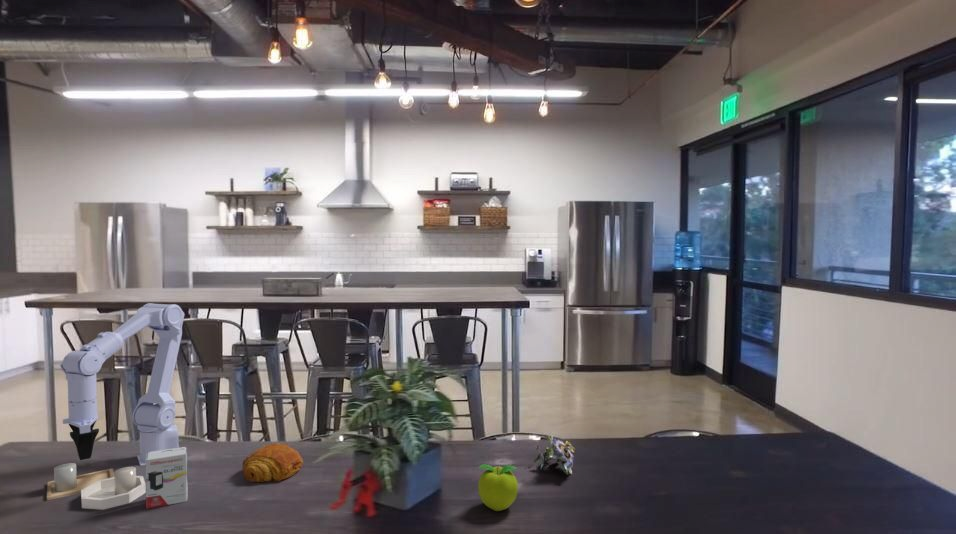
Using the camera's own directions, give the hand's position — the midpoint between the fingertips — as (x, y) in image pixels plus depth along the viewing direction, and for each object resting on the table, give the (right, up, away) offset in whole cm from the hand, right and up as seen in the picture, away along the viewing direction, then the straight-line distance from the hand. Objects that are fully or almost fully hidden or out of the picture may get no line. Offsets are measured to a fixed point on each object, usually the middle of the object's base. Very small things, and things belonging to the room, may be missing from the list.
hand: (84, 453), depth 133 cm
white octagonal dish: (+9, -10, -3) cm, 13 cm away
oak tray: (-3, -9, +3) cm, 10 cm away
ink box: (+23, -10, -4) cm, 25 cm away
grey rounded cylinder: (+11, -9, -1) cm, 14 cm away
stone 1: (-5, -9, +1) cm, 11 cm away
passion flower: (+118, -10, +14) cm, 119 cm away
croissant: (+42, -10, +12) cm, 45 cm away
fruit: (+102, -11, -7) cm, 103 cm away
